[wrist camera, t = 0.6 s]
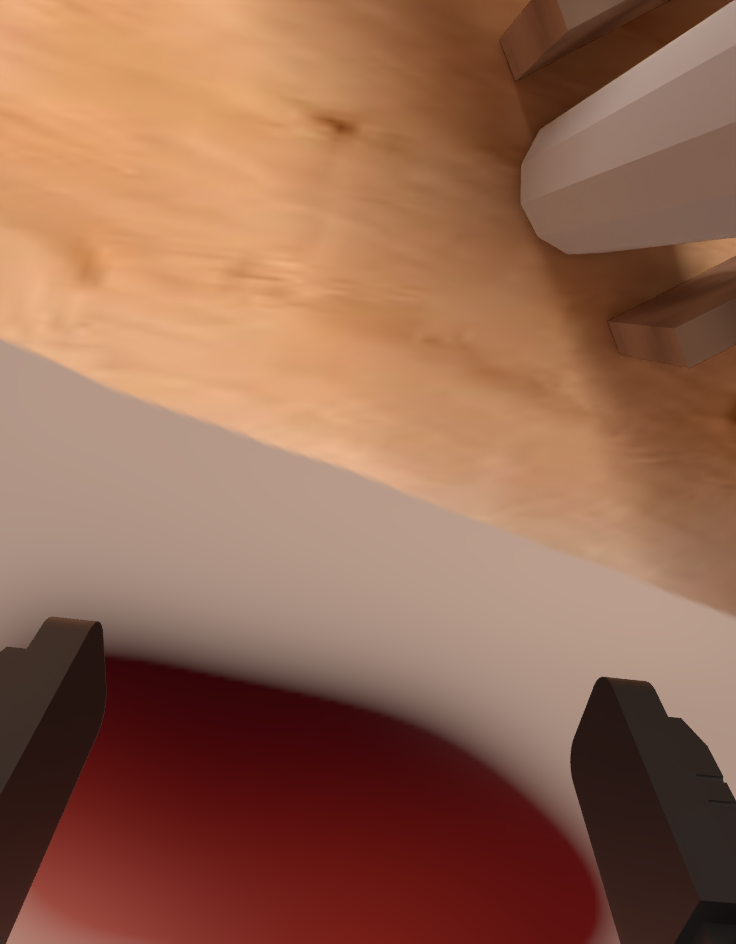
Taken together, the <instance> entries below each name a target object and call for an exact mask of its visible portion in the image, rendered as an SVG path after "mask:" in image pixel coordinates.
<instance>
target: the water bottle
mask: <svg viewBox="0 0 736 944" xmlns="http://www.w3.org/2000/svg"><path fill="white" fill-rule="evenodd" d="M521 206H522V208H523V210H524V212H525V214H526V215H527V217H528V219H529V221H530V223H531V225H532V227H533V229H534V231H535V233H536V235H537V237H539V238H541V239H542V240H544V241H546V242H547V243H549V244H551V245H552V246H554V247H556V248H557V249H559V250H561V251H562V252H564V253H566V254H590V253H606V252H615V251H623V250H632V249H640V248H649V247H657V246H666V245H674V244H683V243H691V242H700V241H708V240H717V239H725V238H734V237H736V0H733V1H732V2H730V3H729V4H727V5H726V6H724V7H723V8H721V9H720V10H718V11H717V12H715V13H714V14H712V15H711V16H709V17H708V18H706V19H705V20H703V21H702V22H700V23H699V24H697V25H696V26H694V27H693V28H691V29H690V30H688V31H687V32H685V33H684V34H682V35H681V36H679V37H678V38H676V39H675V40H673V41H672V42H670V43H669V44H667V45H666V46H664V47H663V48H661V49H660V50H658V51H657V52H655V53H654V54H652V55H651V56H649V57H648V58H646V59H645V60H643V61H642V62H640V63H639V64H637V65H636V66H634V67H633V68H631V69H630V70H628V71H627V72H625V73H624V74H622V75H621V76H619V77H618V78H616V79H615V80H613V81H612V82H610V83H609V84H607V85H606V86H604V87H603V88H601V89H600V90H598V91H597V92H595V93H594V94H592V95H591V96H589V97H588V98H586V99H585V100H583V101H582V102H580V103H579V104H577V105H576V106H574V107H573V108H571V109H570V110H568V111H567V112H565V113H564V114H562V115H561V116H559V117H558V118H556V119H555V120H553V121H551V122H550V123H548V124H547V125H545V126H544V127H542V128H541V129H540V130H539V132H538V134H537V136H536V138H535V139H534V141H533V143H532V145H531V147H530V149H529V151H528V153H527V155H526V156H525V158H524V160H523V162H522V164H521Z"/></svg>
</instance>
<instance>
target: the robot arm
mask: <svg viewBox="0 0 736 944" xmlns="http://www.w3.org/2000/svg"><path fill="white" fill-rule="evenodd" d="M104 659H105V658H104V641H103V629H102V625H101V623H100V622H96V621H86V620H78V619H68V618H59V617H49V618H48V619H47V620H46V621H45V622H44V623H43V625H42V626H41V628H40V629H39V631H38V632H37V634H36V636H35V637H34V639H33V640H32V642H31V643H30V645H29V647H28V648H27V649H23V648H13V647H6V648H5V649H4V650H2V651H1V652H0V944H6V942H7V939H8V937H9V935H10V933H11V930H12V928H13V926H14V923H15V921H16V919H17V917H18V914H19V912H20V910H21V908H22V905H23V903H24V900H25V898H26V896H27V894H28V891H29V889H30V887H31V885H32V883H33V880H34V878H35V876H36V873H37V871H38V869H39V867H40V864H41V862H42V860H43V857H44V855H45V853H46V850H47V848H48V846H49V844H50V841H51V839H52V837H53V834H54V832H55V830H56V828H57V825H58V823H59V821H60V819H61V816H62V814H63V812H64V809H65V807H66V805H67V803H68V801H69V798H70V796H71V794H72V791H73V789H74V787H75V785H76V782H77V780H78V778H79V775H80V773H81V771H82V768H83V766H84V764H85V762H86V760H87V757H88V755H89V753H90V750H91V748H92V746H93V743H94V741H95V739H96V737H97V734H98V732H99V729H100V726H101V723H102V719H103V715H104V711H105V705H106V677H105V676H106V675H105V660H104ZM570 763H571V774H572V779H573V783H574V787H575V790H576V794H577V797H578V800H579V804H580V807H581V810H582V814H583V817H584V821H585V824H586V828H587V831H588V834H589V838H590V841H591V844H592V848H593V851H594V855H595V858H596V862H597V865H598V868H599V872H600V875H601V879H602V882H603V885H604V889H605V892H606V895H607V899H608V902H609V906H610V909H611V912H612V916H613V919H614V923H615V926H616V929H617V933H618V936H619V940H620V943H621V944H736V800H735V798H734V796H733V794H732V792H731V791H730V789H729V787H728V785H727V783H724V782H723V775H722V773H721V771H720V769H719V768H718V766H717V764H716V762H715V760H714V758H713V756H712V754H711V752H710V750H709V748H708V746H707V745H706V744H705V743H704V742H703V741H702V740H701V739H700V738H699V737H698V736H697V735H696V734H695V733H694V732H693V730H692V729H691V728H690V727H689V726H688V725H687V724H686V723H685V722H684V721H683V720H682V719H681V718H674V717H668V716H667V714H666V712H665V710H664V707H663V705H662V703H661V701H660V699H659V697H658V695H657V693H656V691H655V689H654V687H653V686H652V685H651V684H650V683H649V682H646V681H637V680H628V679H618V678H609V677H601V678H599V679H598V680H597V681H596V683H595V685H594V687H593V690H592V692H591V695H590V698H589V700H588V703H587V705H586V708H585V711H584V713H583V716H582V718H581V721H580V724H579V726H578V729H577V731H576V734H575V736H574V739H573V743H572V747H571V761H570Z"/></svg>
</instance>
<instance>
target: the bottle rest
mask: <svg viewBox="0 0 736 944" xmlns="http://www.w3.org/2000/svg"><path fill="white" fill-rule="evenodd" d="M668 1H670V0H531V1H530V2H529V4H528V5H527V6H526V7H525V9H524V10H523V11H522V12H521V14H520V15H519V16H518V17H517V19H516V20H515V21H514V22H513V24H512V25H511V26H510V27H509V29H508V30H507V31H506V32H505V34H504V35H503V36H502V37H501V39H500V43H501V45H502V48H503V50H504V53H505V56H506V58H507V61H508V63H509V66H510V69H511V71H512V74H513V76H514V79H515V81H517V80H519V79H521V78H523V77H525V76H526V75H528V74H530V73H532V72H534V71H536V70H538V69H540V68H542V67H544V66H546V65H547V64H549V63H551V62H553V61H555V60H557V59H559V58H561V57H563V56H565V55H566V54H568V53H570V52H572V51H574V50H576V49H578V48H580V47H582V46H584V45H586V44H587V43H589V42H591V41H593V40H595V39H597V38H599V37H601V36H603V35H605V34H607V33H608V32H610V31H612V30H614V29H616V28H618V27H620V26H622V25H624V24H626V23H628V22H629V21H631V20H633V19H635V18H637V17H639V16H641V15H643V14H645V13H647V12H649V11H650V10H652V9H654V8H656V7H658V6H660V5H662V4H664V3H666V2H668ZM608 324H609V327H610V329H611V332H612V334H613V337H614V340H615V342H616V345H617V348H618V350H619V353H620V355H625V356H630V357H635V358H640V359H645V360H649V361H654V362H659V363H664V364H669V365H674V366H679V367H684V368H690V367H692V366H694V365H696V364H698V363H700V362H702V361H704V360H706V359H708V358H710V357H712V356H714V355H716V354H718V353H720V352H722V351H724V350H726V349H728V348H730V347H732V346H734V345H736V256H735V257H733V258H731V259H729V260H727V261H725V262H723V263H721V264H719V265H717V266H715V267H713V268H711V269H710V270H708V271H706V272H704V273H702V274H700V275H698V276H696V277H694V278H692V279H690V280H688V281H686V282H684V283H682V284H680V285H678V286H676V287H674V288H672V289H670V290H668V291H666V292H664V293H662V294H660V295H658V296H656V297H654V298H653V299H651V300H649V301H647V302H645V303H643V304H641V305H639V306H637V307H635V308H633V309H631V310H629V311H627V312H625V313H623V314H621V315H619V316H617V317H615V318H613V319H611V320H609V321H608Z"/></svg>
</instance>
